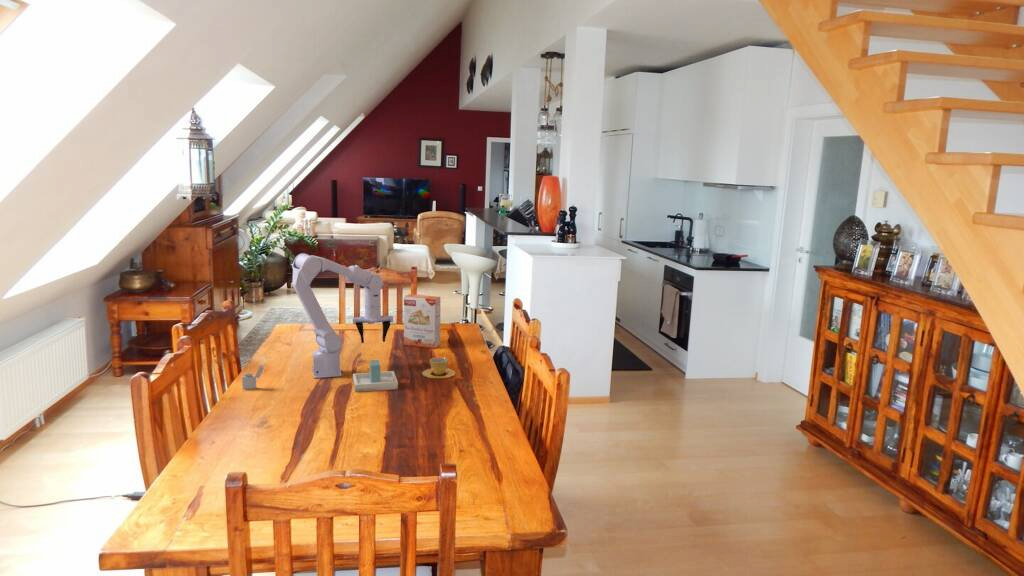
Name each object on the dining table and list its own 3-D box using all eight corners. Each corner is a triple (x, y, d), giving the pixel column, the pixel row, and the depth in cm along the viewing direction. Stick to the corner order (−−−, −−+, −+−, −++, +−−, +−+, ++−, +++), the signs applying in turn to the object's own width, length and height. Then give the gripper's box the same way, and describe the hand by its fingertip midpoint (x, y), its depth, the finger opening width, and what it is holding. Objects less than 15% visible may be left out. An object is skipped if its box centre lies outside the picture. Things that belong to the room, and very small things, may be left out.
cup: (450, 380, 245) (450, 366, 244) (417, 377, 248) (417, 363, 246) (459, 370, 257) (459, 356, 256) (428, 367, 259) (428, 353, 258)
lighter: (242, 389, 231) (241, 366, 229) (243, 387, 232) (242, 364, 231) (264, 389, 232) (263, 365, 230) (265, 387, 233) (264, 364, 232)
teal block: (369, 379, 240) (369, 360, 239) (378, 379, 241) (378, 359, 240) (371, 385, 234) (371, 365, 233) (380, 384, 235) (380, 365, 234)
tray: (355, 392, 231) (355, 384, 230) (352, 380, 242) (352, 373, 242) (397, 388, 235) (397, 381, 234) (393, 377, 246) (393, 371, 246)
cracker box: (403, 345, 286) (403, 296, 282) (409, 342, 292) (409, 293, 288) (434, 349, 283) (435, 298, 279) (440, 345, 288) (440, 296, 284)
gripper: (353, 308, 248) (353, 345, 251) (394, 307, 252) (394, 343, 255) (351, 304, 255) (352, 340, 258) (391, 303, 259) (392, 338, 262)
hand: (373, 341), depth 257 cm, fingers open, 7 cm apart
